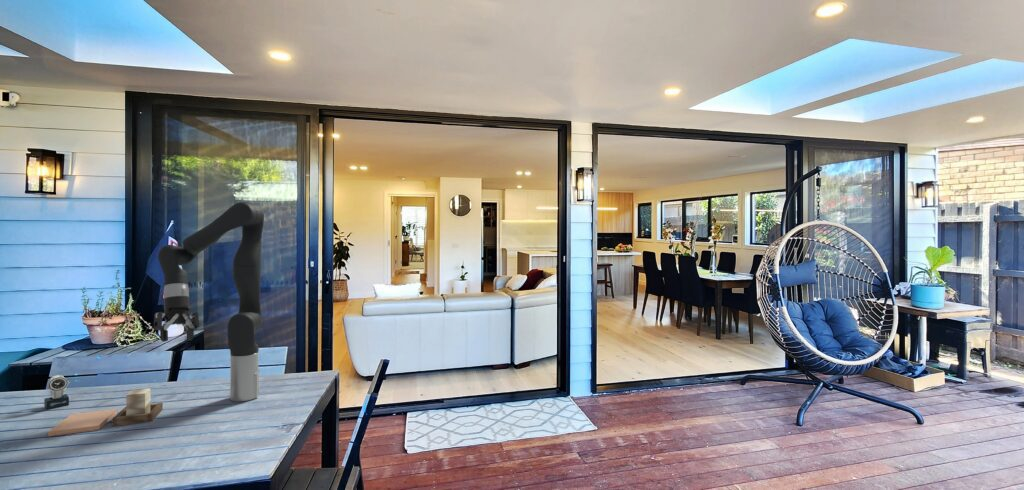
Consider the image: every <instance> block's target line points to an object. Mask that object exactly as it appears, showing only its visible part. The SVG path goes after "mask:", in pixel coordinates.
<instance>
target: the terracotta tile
mask: <svg viewBox="0 0 1024 490" xmlns="http://www.w3.org/2000/svg"><path fill="white" fill-rule="evenodd" d="M117 414H118V408H113V409H105V410H95V411H86V412H80V413H79V412H78V413H71V414H70V415H68V416H67V417H66V418H65V419H63V420H62V421H60V422H59V423H57V424H56V425H55V426H53V427H52V428H51V429H50V430H48V431H47V437H53V436H54V437H55V436H61V435H62V436H63V435H69V434H78V433H85V432H93V431H94V432H95V431H100V430H101V428H102V427H104V426H105V425H106V424H107V423H108V422H110V420H112V419H113V418H114V417H115V416H116V415H117Z"/></svg>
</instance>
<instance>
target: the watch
mask: <svg viewBox="0 0 1024 490" xmlns="http://www.w3.org/2000/svg"><path fill="white" fill-rule="evenodd" d="M69 384H70V381H68V379H67V378H66V377H64V376H63V375H62V374H59V375H58V374H57V375H53V376H50V380H49V382H48V385H47V387H48V390H49V393H50V395H51V396H50V397H46V398H44V399H43V400H44V403H43V405H44V409H45V410H46V411H50V410H54V409H55V410H56V409H58V408H64V407H68V406H69V405H70V396H69V395H68V394H66V393H65V394H64V392H65V391H66V389H67V387H68V385H69Z"/></svg>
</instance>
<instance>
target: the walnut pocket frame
mask: <svg viewBox="0 0 1024 490" xmlns="http://www.w3.org/2000/svg"><path fill="white" fill-rule="evenodd" d="M162 411H163V402H156V403H150V413H145V414H137V415H129V416H126V406H125V407H124V408H122V409H121V410H120V411H119V412H117V414H116V415H115V416H114V417H113V418H111V420H112V421H111V422H112V423H111V426H112V427H117V426H124V425H127V426H128V425H132V424H142V423H149V422H153V421H155V419H156V418H157V417H158V415H159V414H160V413H161V412H162Z"/></svg>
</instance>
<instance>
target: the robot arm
mask: <svg viewBox="0 0 1024 490" xmlns="http://www.w3.org/2000/svg"><path fill="white" fill-rule="evenodd" d="M264 219H265V212H264V209H263V208H262V206H260V205H259V204H257V203H253V202H246V201H239V202H236V203H235V204H233V205H232V206H230V207H229V208H228V209H226V211H224V212H223V213H222V214H220V215H219V216H218V217H216V219H214V220H212V221H211V222H210V223H209V224H207V225H206V226H204V227H203V228H201V229H199V230H198V231H195V232H194V233H192V234H191V235H188V236H187V237H186V238H184V239H183V241H182V245H183V246H182V247H181V246H178V245H173V244H166V245H163V246H162V247H161V248H160V249H159V251H158V255H157V260H158V263H159V265H160V268H161V271H162V273H163V276H164V277H163V278H164V279H163V280H164V282H163V283H164V284H163V286H164V287H163V310H164V312H162V311H158V312H155V313H154V314H153V330H156V331H159V333H160V341H161V342H163V343H164V342H167V341H168V340H169V330H168V329H169V328H170V326H173V325H178V326H179V325H181V326H182V327H184V328H185V329H186V340H187V341H192V340H194V337H195V332H194V331H195V329H197V328H200V319H199V317H200V316H199V313H198V311H196V312H190V291H189V290H190V289H189V282H188V281H189V279H188V273H187V272H188V271H186V270H185V269H182V268H181V267H180V266H185V265H188V264H190V263H191V262H193V260H194V259H195V258H196V257H197V256H198V255H199V254H200V253H201V252H203V251H205V250H207V249H209V248H210V247H212V246H213V245H215V244H216V243H217V242H218V241H219V240H220V239H221V238H222V236H224V235H225V234H226V233H228V232H230V231H231V230H234V229H235V230H236V229H237V228H240V227H241V229H242V231H241V233H242V235H241V241H240V243H239V246H238V248H237V250H236V252H235V255H234V258H233V261H232V263H233V264H232V278H233V283H234V286H235V288H236V291H237V294H238V297H239V300H238V301H239V307H238V308H239V309H238V312H237V314H234V315H232V316H231V317H230V319H229V320H228V323H227V345H228V346H227V347H228V348H229V349H228V350H230V367H229V368H230V369H229V370H230V371H229V372H230V373H229V374H230V380H229V381H230V385H229V386H230V387H229V389H230V391H229V392H230V393H229V394H230V395H229V397H230V398H229V399H230V401H232V402H237V403H238V402H246V401H251V400H255V399H258V397H259V396H260V395H259V394H260V369H259V351H260V350H259V349H260V348H259V345H258V344H257V343H256V342H255V340H256V339H255V333H256V332H257V331H259V329H260V328H261V325H262V321H263V318H262V307H261V279H262V278H261V276H262V235H263V228H264V222H265V220H264ZM163 318H164V319H165V321H164V322H163Z"/></svg>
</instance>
